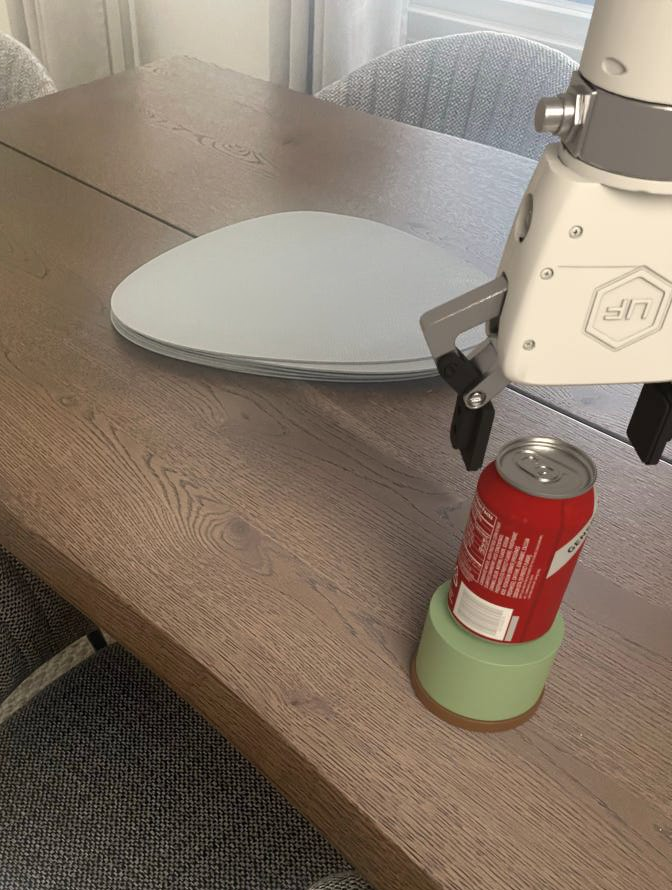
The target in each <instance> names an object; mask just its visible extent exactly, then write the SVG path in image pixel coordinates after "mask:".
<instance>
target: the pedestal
mask: <svg viewBox="0 0 672 890" xmlns="http://www.w3.org/2000/svg"><path fill="white" fill-rule="evenodd" d="M451 580H452V577H451V578H449V579H447V580H446V581H445V582H443V583H441V584H440V586H438V587H437V589H436V590H435V591H434V592H433V594H432V596H431V599H430V602H429V605H428V609H427V612H426V618H425V621H424V625H423V628H422V633H421V636H420V641H419V645H418V646H417V648H416V649H415V652H414V654H413V657H412V662H411V665H410V670H409V671H410V672H409V673H410V675H409V677H410V683H411V686H412V689H413V691H414V693H415V695H416V697H417V698H418V700H419V701H420V703H421V704H422V705H423V706H424V707H425V708H426V709H427V710H428V711H429V712H430V713H431V714H433V715H434V716H436V717H437V718H439V719H440V720H442V721H444V723H445V722H446V723H447V724H449V725H451V726H454V727H457V728H460V729H462V730H465V731H470V732H478V733H501V732H506V731H510V730H513V729H516V728H518V727H519V726H522V725H523V724H525V723H527V722H528V721H529V720H530V719H531V718H532V717H533V716H535V714H536V713H537V711H538V709H539V707H540V706H541V703H542V700H543V698H544V695H545V691H546V682H547V680H548V677H549V675H550V672H551V670H552V667H553V665H554V663H555V660H556V658H557V655H558V652H559V650H560V647H561V645H562V643H563V642H564V641H563V640H564V637H565V629H566V628H565V627H566V626H565V622H564V618H563V614H562V612H561V611H560V609H559V610H558V612H557V615H556V617H555V620H554V622H553V625H552V627H551V629H550V630H549V631H548V632H547V634H546V635H544V636H543V637H542V638H540V639H538V640H536V641H534V642H532V643H528V644H524V645H517V646H506V645H498V644H493V643H489V642H486V641H483V640H481V639H478V638H476V637H474V636H473V635H471V634H469V633H468V632H466V631H465V630H464V629H462V628H461V627H460V626H459V625H458V624H457V623H456V622H455V620H454V619H453V618H452V616H451V614H450V612H449V609H448V605H447V595H448V592H449V588H450V584H451Z"/></svg>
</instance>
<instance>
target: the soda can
mask: <svg viewBox="0 0 672 890" xmlns="http://www.w3.org/2000/svg"><path fill="white" fill-rule="evenodd" d="M597 478H598V468H597V464H595V462H594V460H593V458H592V457H591V456H590V455H588V453H587V452H586V451H584V450H582V448H580V447H578V446H576V445H575V444H572V443H570V442H567V441H564V440H562V439H559V438H555V437H550V436H541V435H531V436H530V435H528V436H522V437H517V438H514V439H511V440H509V441H507V442H505V443H504V444H503V445H502V446H501V447H500V448H499V450H498V451H497V453H496V456H495V459H494V460H492V461H491V462H489V463H488V464H487V465H486V466H485V467H484V468H483V470H482V471H481V472H480V474H479V476H478V480H477V484H476V487H475V490H474V494H473V498H472V502H471V505H470V509H469V513H468V517H467V520H466V523H465V524H466V525H465V527H464V528H465V529H464V532H463V536H462V540H461V544H460V547H459V550H458V554H457V558H456V562H455V566H454V569H453V573H452V576H451V578H452V580H451V584H450V588H449V592H448V595H447V605H448V609H449V612H450V614H451V616H452V618H453V619H454V620H455V622H456V623H457V624H458V625H459V626H460V627H461V628H462V629H464V630H465V631H466V632H468V633H469V634H471V635H473V636H474V637H476V638H478V639H481V640H483V641H486V642H489V643H493V644H498V645H506V646H517V645H524V644H528V643H532V642H534V641H536V640H538V639H540V638H542V637H543V636H544V635H546V634H547V632H548V631H549V630H550V629H551V627H552V625H553V622H554V620H555V617H556V615H557V612H558V610H559V611H560V607H561V604H562V602H563V599H564V597H565V594H566V591H567V589H568V586H569V584H570V582H571V579H572V576H573V573H574V571H575V569H576V566H577V563H578V561H579V558H580V556H581V553H582V550H583V548H584V545H585V543H586V540H587V537H588V535H589V532H590V530H591V527H592V525H593V522H594V519H595V517H596V514H597V512H598V509H599V506H600V494H599V491H598V488H597V486H596V481H597Z"/></svg>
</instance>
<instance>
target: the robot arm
mask: <svg viewBox="0 0 672 890" xmlns="http://www.w3.org/2000/svg"><path fill="white" fill-rule="evenodd" d="M589 20H590V21H589V25H588V28H587V32H586V37H585V41H584V44H583V48H582V52H581V57H580V60H579V66H578V69H577V70H573V71H572V73H571V76H570V81H569V85H568V86H567V89H566V91H565V92H559V93H558V94H556V96H548V97H540V98H539V99H538V101H537V104H536V107H535V111H534V123H533V124H534V130H535V132H536V133H551V134H552V135H553V137H554V136H557V137H558V138H559V141H557V142H551V143H549V144H547V145H546V146H545V147H544V150H543V153H542V155H541V156H540V158H539V160H538V162H537V164H536V167H535V169H534V171H533V173H532V174H531V175H532V176H531V177H530V179H529V181H528V184H527V187H526V189H525V191H524V194H523V196H522V199H521V201H520V203H519V206H518V209H517V211H516V213H515V216H514V218H513V222H512V225H511V228H510V230H509V234H508V237H507V239H506V243H505V245H504V249H503V252H502V256H501V258H500V262H499V265H498V267H497V272H496V275H495V279H493V280H490V281H489V282H486V283H484V284H482V285H480V286H478V287H476V288H474V289H472V290H470V291H469V290H468V291H467V292H465V293H463V294H461V295H459V296H456V297H454V298H452V299H450V300H449V301H446V302H444V303H442V304H440V305H438V306H435V307H434V308H431V309H428V310H427V311H425V312H423V314H421V316H420V317H419V320H418V323H419V326H420V329H421V332H422V334H423V337H424V340H425V342H426V345H427V347H428V350H429V352H430V355H431V357H432V360H433V362H434V366H435V367H436V369H437V373H438V375H439V376H440V377H441V379H443V380H444V381H445V382H446V384H448V385H449V387H451V389H452V390H453V391H454V392H456V394H457V395H456V401H455V405H454V409H453V414H452V420H451V424H450V430H449V440H450V444H451V447H452V450H459V453H460V456H461V459H462V461H463V464H464V466H465V469H466V472H479V469H482V468H483V464H484V461H485V457H486V452H487V448H488V444H489V441H490V437H491V433H492V429H493V424H494V420H495V415H496V409H495V406H494V404H493V402H492V399H493V398H495V397H496V396H497V395H499V393H501V392H502V391H503V390H504V389H505V388H506V387H508V386H509V385H510V384H512V383H513V384H516V385H520V386H524V387H537V388H538V387H543V388H544V387H581V386H582V387H583V386H613V385H614V386H615V385H638V384H639V385H640V384H643V385H642V388H641V390H640V393H639V396H638V399H637V401H636V403H635V406H634V409H633V412H632V414H631V416H630V419H629V422H628V425H627V428H626V430H625V432H626V437H627V439H628V441H629V442H630V444H631V446H632V448H633V449H634V451H635V453H636V454H637V456H638V458H639V459H640V462H641V463H642V464H644V465H645V466H657V465H658V464H659V462H660V460H661V458H662V455H663V453H664V450H665V448H666V445H667V444H668V443H669V442H671V441H672V0H594V4H593V9H592V12H591V16H590V19H589ZM484 323H485V324H484ZM482 324H484V332H485V335H486V337H487V338H485V339H484V340H483V341H482V342H481V343H479V344H478V345H477V346H476V347H475V348H474V349H472V351H471V352H470V353H469V354H467V355H465V354H464V353H463V352H462V351H461V350H460V349H459V348H458V347H457V345H456V340H457V338H458V337H459V336H460V335H461V334H463V333H464V332H467V331H469V330H471V329H474V328H475V327H477V326H480V325H482Z"/></svg>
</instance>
